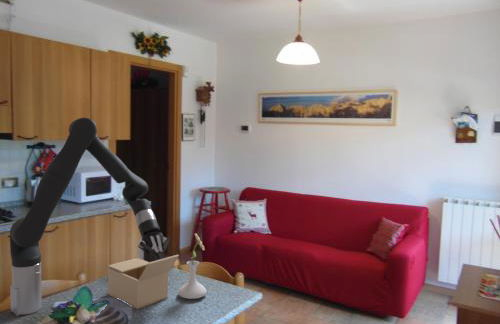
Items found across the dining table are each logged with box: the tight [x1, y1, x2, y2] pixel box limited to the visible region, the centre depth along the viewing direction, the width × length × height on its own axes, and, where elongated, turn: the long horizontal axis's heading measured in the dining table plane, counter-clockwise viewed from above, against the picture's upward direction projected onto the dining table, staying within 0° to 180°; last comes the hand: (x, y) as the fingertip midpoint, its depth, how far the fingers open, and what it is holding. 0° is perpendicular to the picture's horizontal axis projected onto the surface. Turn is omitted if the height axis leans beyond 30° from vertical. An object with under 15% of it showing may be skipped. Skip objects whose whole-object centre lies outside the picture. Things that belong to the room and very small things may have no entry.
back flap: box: [107, 257, 149, 273], centre depth 163 cm, size 14×10×1 cm
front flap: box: [139, 254, 180, 281], centre depth 151 cm, size 14×10×1 cm
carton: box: [107, 266, 169, 311], centre depth 160 cm, size 14×20×11 cm
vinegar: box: [143, 252, 156, 262], centre depth 180 cm, size 7×7×20 cm
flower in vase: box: [177, 233, 207, 300], centre depth 162 cm, size 13×11×25 cm
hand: (161, 262), depth 150 cm, fingers closed
